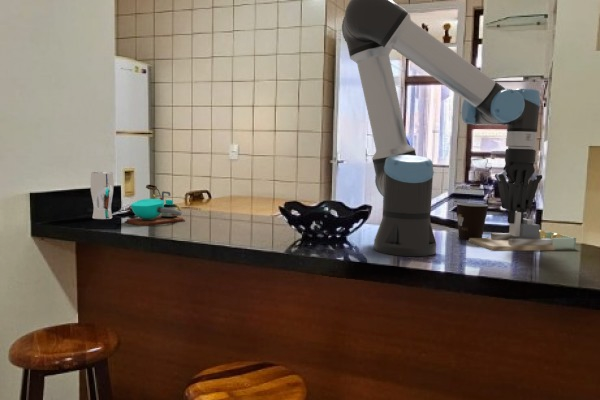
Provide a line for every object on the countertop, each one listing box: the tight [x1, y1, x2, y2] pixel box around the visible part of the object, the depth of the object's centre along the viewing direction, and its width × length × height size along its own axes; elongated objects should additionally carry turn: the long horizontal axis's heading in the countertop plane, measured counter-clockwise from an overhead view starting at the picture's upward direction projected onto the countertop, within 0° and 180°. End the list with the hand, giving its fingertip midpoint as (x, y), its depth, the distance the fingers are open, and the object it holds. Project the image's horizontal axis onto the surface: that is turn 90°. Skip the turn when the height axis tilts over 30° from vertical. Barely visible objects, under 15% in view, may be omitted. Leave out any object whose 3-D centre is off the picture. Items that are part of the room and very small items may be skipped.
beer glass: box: [90, 171, 115, 220], centre depth 170 cm, size 7×7×15 cm
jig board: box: [468, 232, 556, 251], centre depth 143 cm, size 18×12×3 cm, turn 101°
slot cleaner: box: [510, 217, 541, 239], centre depth 143 cm, size 5×6×6 cm
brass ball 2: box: [550, 232, 563, 239], centre depth 144 cm, size 3×3×3 cm
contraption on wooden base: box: [124, 184, 186, 227], centre depth 165 cm, size 14×18×15 cm
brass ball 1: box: [539, 229, 547, 239], centre depth 145 cm, size 3×3×3 cm
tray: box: [545, 231, 577, 250], centre depth 145 cm, size 7×10×3 cm
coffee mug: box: [456, 202, 489, 241], centre depth 154 cm, size 12×9×10 cm
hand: (514, 235), depth 143 cm, fingers closed
